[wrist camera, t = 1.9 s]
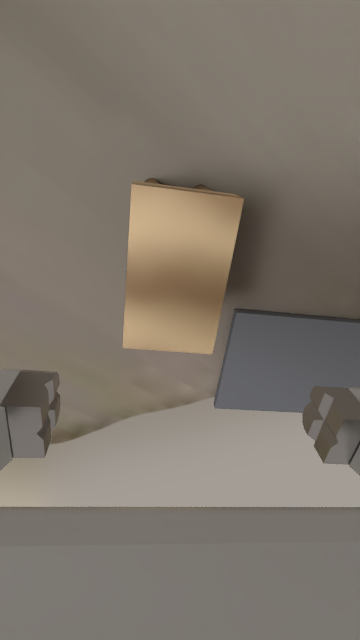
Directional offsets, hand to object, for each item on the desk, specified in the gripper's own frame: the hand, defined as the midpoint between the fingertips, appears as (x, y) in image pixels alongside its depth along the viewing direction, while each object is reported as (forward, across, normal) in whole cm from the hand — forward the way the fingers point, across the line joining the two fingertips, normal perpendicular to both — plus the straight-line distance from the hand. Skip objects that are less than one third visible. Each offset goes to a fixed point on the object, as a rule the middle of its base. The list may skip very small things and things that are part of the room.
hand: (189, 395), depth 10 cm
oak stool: (+20, 0, 0) cm, 20 cm away
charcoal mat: (+20, -16, +12) cm, 28 cm away
